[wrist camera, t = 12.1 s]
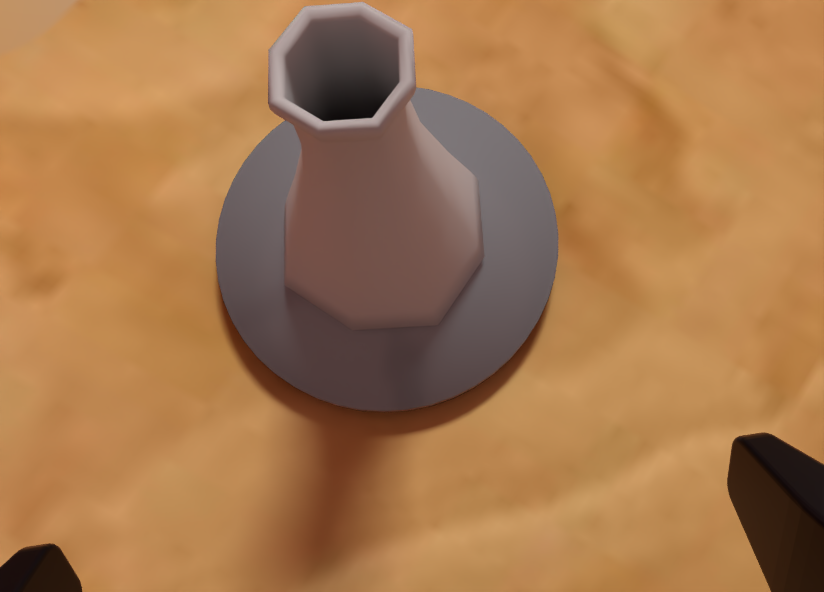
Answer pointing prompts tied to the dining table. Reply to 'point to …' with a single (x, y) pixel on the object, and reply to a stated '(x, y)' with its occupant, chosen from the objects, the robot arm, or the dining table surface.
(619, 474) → the dining table surface
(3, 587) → the robot arm
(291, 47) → the flask
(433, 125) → the slate coaster
